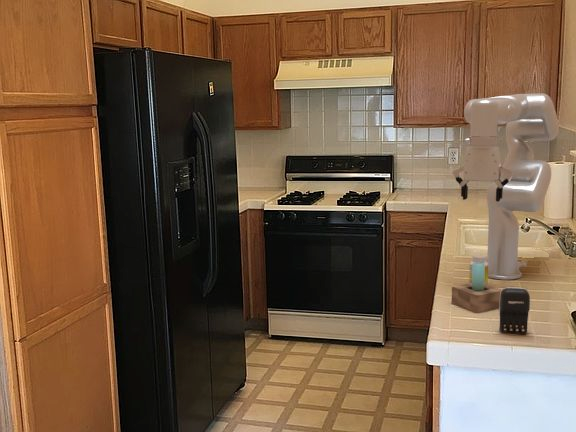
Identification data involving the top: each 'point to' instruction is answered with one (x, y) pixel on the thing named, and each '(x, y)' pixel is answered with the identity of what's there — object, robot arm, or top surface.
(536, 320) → the top surface
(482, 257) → the supplement bottle
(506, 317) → the battery charger
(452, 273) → the top surface
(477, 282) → the dowel
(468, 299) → the socket block
